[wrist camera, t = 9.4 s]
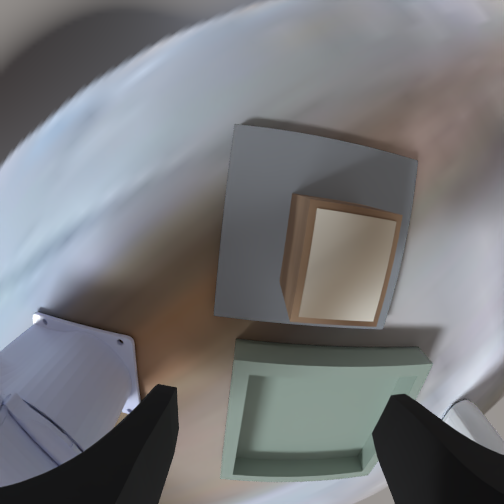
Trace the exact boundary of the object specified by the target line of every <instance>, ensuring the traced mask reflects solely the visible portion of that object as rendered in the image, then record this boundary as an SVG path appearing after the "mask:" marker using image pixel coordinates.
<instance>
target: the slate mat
mask: <svg viewBox="0 0 504 504" xmlns="http://www.w3.org/2000/svg"><path fill="white" fill-rule="evenodd" d="M417 166H418V161H417V160H414V159H411V158H407V157H404V156H401V155H397V154H393V153H390V152H386V151H382V150H379V149H375V148H371V147H367V146H363V145H358V144H354V143H350V142H345V141H341V140H336V139H331V138H326V137H321V136H315V135H310V134H304V133H298V132H292V131H286V130H279V129H272V128H265V127H257V126H248V125H239V124H235V125H234V132H233V140H232V147H231V155H230V163H229V171H228V179H227V187H226V196H225V205H224V214H223V223H222V232H221V242H220V252H219V262H218V272H217V283H216V294H215V306H214V316H220V317H228V318H236V319H245V320H254V321H264V322H274V323H285V324H296V325H309V326H323V327H339V328H359V329H383V327H384V324H385V321H386V317H387V314H388V311H389V307H390V304H391V300H392V297H393V293H394V290H395V286H396V282H397V278H398V274H399V270H400V266H401V261H402V257H403V252H404V248H405V243H406V238H407V233H408V228H409V222H410V217H411V211H412V204H413V198H414V191H415V183H416V175H417ZM292 193H294V194H301V195H308V196H315V197H321V198H327V199H333V200H339V201H345V202H351V203H357V204H362V205H366V206H370V207H374V208H378V209H381V210H385V211H389V212H393V213H396V214H400V215H403V216H402V222H401V227H400V233H399V238H398V243H397V248H396V253H395V257H394V262H393V266H392V271H391V275H390V279H389V283H388V287H387V291H386V295H385V298H384V302H383V306H382V309H381V313H380V316H379V320H378V323H377V326H376V327H367V326H345V325H327V324H312V323H299V322H290V320H289V316H288V312H287V309H286V305H285V301H284V297H283V293H282V290H281V286H280V282H279V280H280V274H281V267H282V261H283V254H284V247H285V241H286V234H287V227H288V220H289V213H290V205H291V198H292Z"/></svg>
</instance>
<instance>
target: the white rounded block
mask: <svg viewBox="0 0 504 504" xmlns="http://www.w3.org/2000/svg"><path fill="white" fill-rule="evenodd" d="M442 421H444V422H445V423H447V424H448V425H449V426H451V427H452V428H454V429H455V430H457V431H458V432H460V433H461V434H463V435H465V436H466V437H468V438H469V439H471V440H473V441H475V442H476V443H478V444H480V445H482V446H484V447H486V448H488V449H490V450H493V451H495V452H497V453H500V454H503V455H504V441H503V439H502V438H501V436H500V435H499V434H498V432H497V431H496V430H495V428H494V427H493V426H492V425H491V423H490V422H489V421H488V419H487V418H486V417H485V416H484V414H483V413H482V412H481V411H480V409H479V408H478V407H477V406H476V405H475V404H474V403H473V402H470V401H469V400H463V401H460V402H458V403H456V404H455V405H454V406H453V407H452V408H451V409H450V410H449V411H448V413H447V414H446V416H445V417H444V419H443V420H442Z"/></svg>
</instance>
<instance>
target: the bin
mask: <svg viewBox="0 0 504 504" xmlns="http://www.w3.org/2000/svg"><path fill="white" fill-rule="evenodd" d="M432 365H433V363H432V362H431V361H430V360H429V359H428V357H427V356H426V355H425V354H424V353H423V352H422V351H421V349H420V348H419V347H340V346H318V345H301V344H287V343H275V342H264V341H254V340H244V339H236V343H235V352H234V360H233V369H232V377H231V386H230V394H229V403H228V411H227V420H226V429H225V438H224V446H223V455H222V465H221V476H220V479H230V480H242V481H260V482H303V481H321V480H334V479H343V478H352V477H359V476H366V475H368V474H369V473H370V472H371V470H372V469H373V468H374V466H375V465H376V463H377V462H378V458H377V454H376V450H375V446H374V442H373V437H372V432H373V430H374V428H375V426H376V424H377V422H378V421H379V419H380V417H381V415H382V413H383V411H384V409H385V407H386V405H387V402H388V400H389V398H390V396H391V395H396V394H406V395H408V396H410V397H411V398H412V399H414V400H416V398H417V396H418V394H419V392H420V390H421V388H422V386H423V384H424V382H425V380H426V378H427V376H428V373H429V371H430V369H431V367H432Z"/></svg>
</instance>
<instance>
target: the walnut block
mask: <svg viewBox="0 0 504 504" xmlns="http://www.w3.org/2000/svg"><path fill="white" fill-rule="evenodd" d="M402 216H403V215H400V214H396V213H393V212H389V211H385V210H381V209H378V208H374V207H370V206H366V205H362V204H357V203H351V202H345V201H339V200H333V199H327V198H321V197H315V196H308V195H301V194H294V193H292V198H291V205H290V213H289V220H288V227H287V234H286V241H285V247H284V254H283V261H282V267H281V274H280V280H279V282H280V286H281V290H282V293H283V297H284V301H285V305H286V309H287V312H288V316H289V320H290V322H299V323H312V324H327V325H345V326H367V327H376V326H377V323H378V320H379V316H380V313H381V309H382V306H383V302H384V298H385V295H386V291H387V287H388V283H389V279H390V275H391V271H392V266H393V262H394V257H395V253H396V248H397V243H398V238H399V233H400V227H401V222H402Z"/></svg>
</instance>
